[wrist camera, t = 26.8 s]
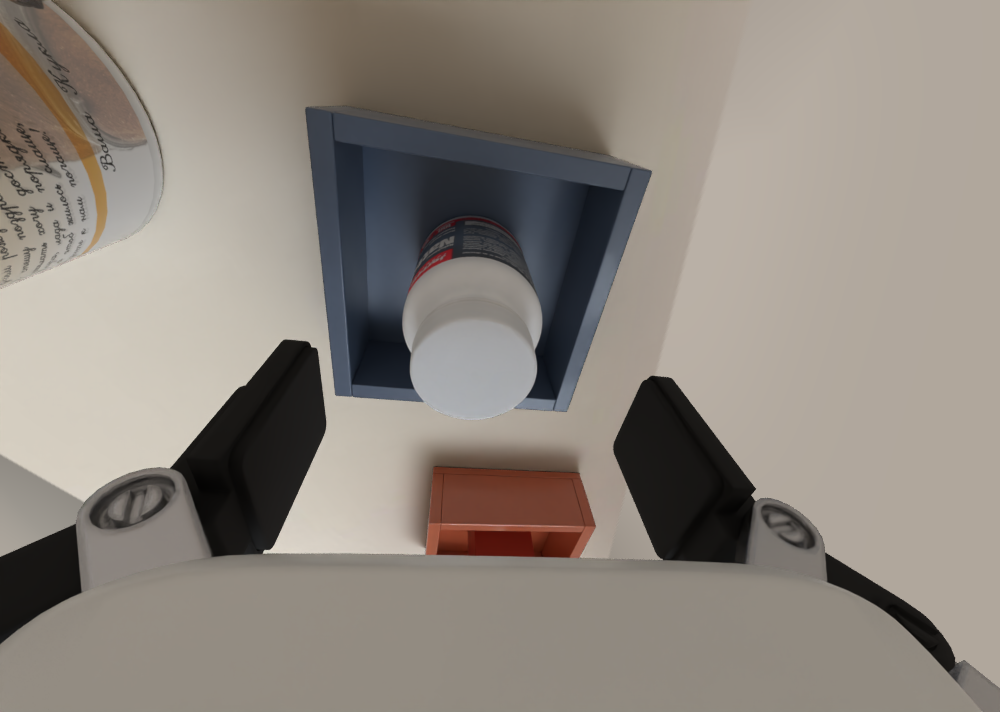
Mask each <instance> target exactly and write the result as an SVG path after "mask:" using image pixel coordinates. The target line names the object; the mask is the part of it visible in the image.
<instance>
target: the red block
mask: <svg viewBox="0 0 1000 712" xmlns="http://www.w3.org/2000/svg"><path fill="white" fill-rule="evenodd" d="M468 556H513V557H535V555H534V549H533V542H532V536H531V531H472V530H468Z"/></svg>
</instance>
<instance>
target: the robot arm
mask: <svg viewBox="0 0 1000 712" xmlns="http://www.w3.org/2000/svg"><path fill="white" fill-rule="evenodd" d="M325 430H326V415H325V407H324V399H323V390H322V382H321V374H320V366H319V357H318V351H317V349H316V348H312V347H311V345H310V343H309V342H307V341H297V340H283V341H282V342H281V343H280V344H279V346H278V347H277V348H276V349H275V350H274V352H273V353H272V354H271V355H270V356H269V358H268V359H267V360H266V361H265V363H264V364H263V365H262V366H261V367H260V369H259V370H258V371H257V372H256V373H255V375H254V376H253V377H252V378H251V380H250V381H249V382H248V383H247V384H246V386H242V387H239V388H238V389H237V390H236V391H235V392H234V393H233V395H232V396H231V397H230V398H229V399H228V400H227V402H226V403H225V404H224V405H223V406H222V408H221V409H220V410H219V411H218V412H217V414H216V415H215V416H214V417H213V418H212V419H211V421H210V422H209V423H208V424H207V425H206V427H205V428H204V429H203V430H202V431H201V432H200V434H199V435H198V436H197V437H196V438H195V440H194V441H193V442H192V443H191V444H190V446H189V447H188V448H187V449H186V450H185V451H184V453H183V454H182V455H181V456H180V457H179V459H178V460H177V461H176V462H175V463H174V465H173V466H172V467H171V468H161V467H158V468H148V469H143V470H139V471H135V472H132V473H128V474H126V475H124V476H122V477H119V478H117V479H115V480H113V481H111V482H109V483H108V484H106V485H105V486H103V487H101V488H100V489H98V490H97V491H96V492H95V493H94V494H93V495H91V496H90V497H89V498H88V499H87V500H86V501H85V503H84V504H83V506H82V507H81V508H80V510H79V512H78V515H77V520H76V524H74V525H73V526H70V527H68V528H65V529H63V530H61V531H58V532H57V533H54V534H52V535H49V536H47V537H45V538H42V539H40V540H38V541H36V542H33V543H31V544H29V545H27V546H24V547H22V548H20V549H18V550H15V551H13V552H11V553H8V554H6V555H4V556H1V557H0V712H1000V688H998V687H997V686H996V685H995V684H994V683H992V682H991V681H990V680H989V679H987V678H986V677H985V676H984V675H982V674H981V673H980V672H979V671H977V670H976V669H975V668H974V667H972V666H971V665H970V664H969V663H967V662H966V661H965V660H963V661H961V662H959V663H957V662H955V657H954V654H953V652H952V649H951V647H950V646H949V644H948V642H947V641H946V639H945V638H944V637H943V635H942V634H941V633H940V632H939V630H937V628H936V627H935V626H934V625H933V623H932V622H931V621H930V620H929V619H928V618H927V617H926V616H924V615H923V614H922V613H921V612H919V611H918V610H917V609H915V608H913V607H912V606H911V605H909V604H908V603H907V602H905V601H904V600H902V599H900V598H899V597H897V596H895V595H894V594H892V593H890V592H889V591H887V590H886V589H884V588H882V587H881V586H879V585H877V584H876V583H874V582H873V581H871V580H869V579H868V578H866V577H864V576H863V575H861V574H859V573H858V572H856V571H854V570H853V569H851V568H849V567H848V566H846V565H845V564H843V563H842V562H840V561H838V560H837V559H835V558H833V557H832V556H830V555H828V554H827V553H825V547H824V542H823V539H822V536H821V535H820V533H819V532H818V530H817V528H816V527H815V526H814V525H813V524H812V523H811V522H810V521H809V520H808V519H807V518H806V517H805V516H804V515H803V514H801V513H800V512H799V511H797V510H796V509H794V508H793V507H791V506H790V505H788V504H785V503H783V502H781V501H779V500H775V499H771V498H761V499H759V500H757V501H755V500H754V499H753V497H752V496H751V494H752V493H753V492H754V491H755V490H756V488H755V487H754V486H753V484H752V483H751V482H750V481H749V479H748V478H747V477H746V475H745V474H744V473H743V471H742V470H741V469H740V467H739V466H738V465H737V463H736V462H735V461H734V460H733V458H732V457H731V455H730V454H729V453H728V451H727V450H726V449H725V448H724V446H723V445H722V444H721V442H720V441H719V440H718V438H717V437H716V436H715V434H714V433H713V432H712V430H711V429H710V428H709V426H708V425H707V424H706V423H705V421H704V420H703V419H702V417H701V416H700V415H699V413H698V412H697V411H696V409H695V408H694V407H693V405H692V404H691V403H690V402H689V400H688V399H687V397H686V396H685V395H684V393H683V392H682V391H681V389H680V388H679V387H678V386H677V385H676V383H675V382H674V380H673V379H672V378H669V377H658V376H650V377H649V378H648V379H647V380H644V381H643V382H642V383H641V385H640V387H639V390H638V392H637V394H636V396H635V398H634V400H633V403H632V405H631V407H630V409H629V411H628V413H627V416H626V418H625V420H624V422H623V424H622V426H621V428H620V431H619V433H618V435H617V437H616V439H615V441H614V446H613V450H614V455H615V457H616V459H617V462H618V464H619V466H620V469H621V471H622V474H623V476H624V478H625V481H626V483H627V485H628V488H629V490H630V493H631V495H632V497H633V500H634V502H635V504H636V507H637V509H638V512H639V514H640V516H641V519H642V521H643V523H644V526H645V528H646V530H647V533H648V535H649V538H650V540H651V542H652V545H653V547H654V550H655V552H656V554H657V555H658V556H659V557H660V558H661V559H663V560H633V559H599V558H558V557H513V556H465V555H405V554H263V551H264V550H270V549H271V548H272V547H273V546H274V544H275V542H276V540H277V538H278V535H279V533H280V531H281V529H282V527H283V524H284V522H285V520H286V518H287V516H288V513H289V511H290V509H291V507H292V505H293V502H294V500H295V498H296V496H297V494H298V491H299V489H300V487H301V485H302V483H303V480H304V478H305V476H306V474H307V471H308V469H309V467H310V465H311V463H312V460H313V458H314V456H315V454H316V452H317V449H318V447H319V445H320V443H321V441H322V438H323V436H324V434H325Z"/></svg>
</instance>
